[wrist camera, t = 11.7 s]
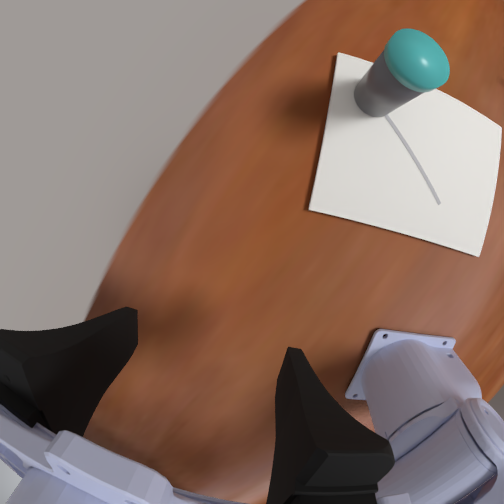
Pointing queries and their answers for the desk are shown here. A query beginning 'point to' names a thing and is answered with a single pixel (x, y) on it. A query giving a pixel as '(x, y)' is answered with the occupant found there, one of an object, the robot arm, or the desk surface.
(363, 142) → the notepad
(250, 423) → the desk surface
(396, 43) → the marker
